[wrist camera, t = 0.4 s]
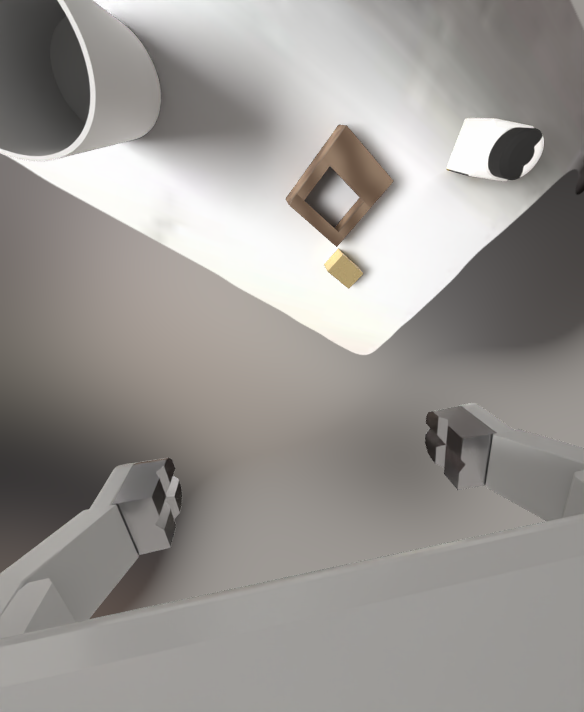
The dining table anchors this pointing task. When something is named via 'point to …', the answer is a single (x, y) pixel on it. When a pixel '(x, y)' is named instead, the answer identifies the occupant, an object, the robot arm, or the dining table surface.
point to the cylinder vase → (71, 80)
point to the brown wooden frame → (353, 168)
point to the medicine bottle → (495, 149)
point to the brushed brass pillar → (343, 269)
